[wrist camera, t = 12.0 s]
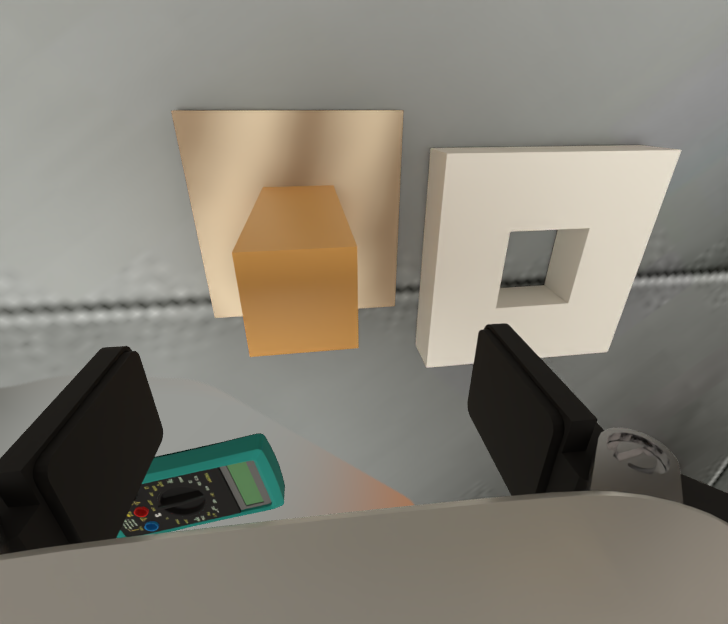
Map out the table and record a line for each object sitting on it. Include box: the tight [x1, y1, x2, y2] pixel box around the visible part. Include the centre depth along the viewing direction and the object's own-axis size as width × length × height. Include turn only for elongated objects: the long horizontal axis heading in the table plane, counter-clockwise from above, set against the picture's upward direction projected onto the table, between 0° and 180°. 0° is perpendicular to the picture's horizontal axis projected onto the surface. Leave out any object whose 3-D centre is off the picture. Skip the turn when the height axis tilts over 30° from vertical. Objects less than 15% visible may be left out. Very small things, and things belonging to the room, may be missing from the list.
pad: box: [171, 110, 403, 318], centre depth 23 cm, size 12×12×1 cm
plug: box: [232, 185, 358, 357], centre depth 18 cm, size 4×4×11 cm
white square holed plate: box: [415, 145, 681, 368], centre depth 26 cm, size 14×14×3 cm
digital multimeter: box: [117, 434, 285, 538], centre depth 32 cm, size 7×15×3 cm, turn 99°
